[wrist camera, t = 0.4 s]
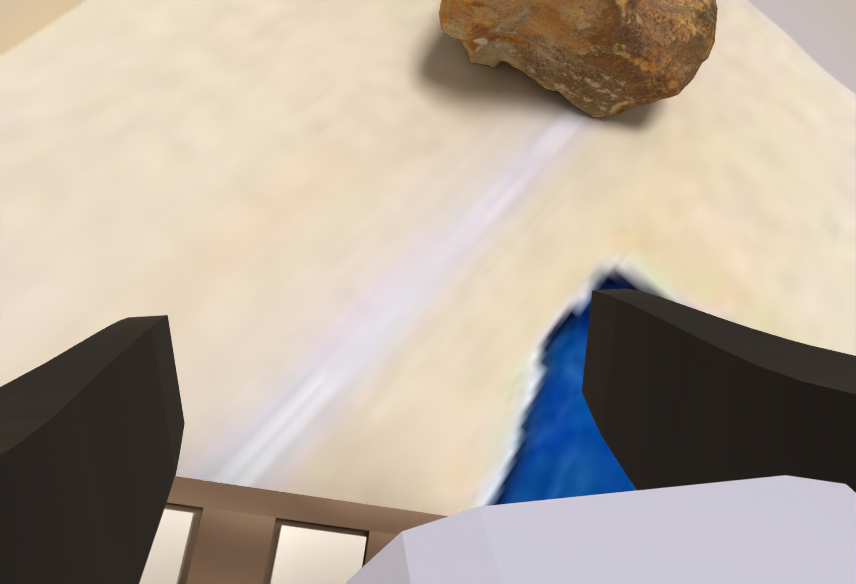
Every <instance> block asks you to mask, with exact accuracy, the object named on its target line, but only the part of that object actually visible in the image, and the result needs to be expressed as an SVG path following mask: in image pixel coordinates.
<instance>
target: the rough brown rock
mask: <svg viewBox="0 0 856 584" xmlns="http://www.w3.org/2000/svg"><path fill="white" fill-rule="evenodd" d="M439 17H440V25H441V29H442V30H443V31H445V32H446V33H447V34H448V35H449V36H450V37H451V38H456V39H458V40H461V41H462V44H463V47H464V49H465V51H466V52H467V54H468V56H469V60H470V62H474V63H478V64H486V65H489V66H491V67H495V66H496V65H498V64H499V63H500V62H502V61H506V62H508V63H509V64H510V65H512V66H513V67H515V68H517V69H519V70H521V71H523V72H525V73H526V74H527V75H528V76H529V77H530V78H532V79H533V80H535V81H536V82H537V83H539V84H540V85H541V86H542V87H543V88H546V89H549V90H551V91H559V92H560V93H561V94H562V95H563V96H564V97H565V98H566V99H567V100H569V101H570V102H571V103H572V104H573V105H574V106H576V107H577V108H579V109H581V110H582V111H584V112H586V113H587V114H589V115H591V116H592V117H606V116H613V115H615V114H618V113H620V112H623V111H625V110H627V109H629V108H631V107H633V106H637V105H642V104H646V103H650V102H654V101H657V100H661V99H665V98H670V97H672V96H675V95H678V94H679V93H680V92H681V91H682V90H683V89H684V88H685V87H686V86H687V85H688V84H689V83H690V82H691V80H692V79H693V78H694V77H695V75H696V73H697V71H698V69H699V67H700V66H701V64H702V63H703V62H704V61H705V60H706V59H707V58H708V57H709V54H710V52H711V50H712V47H713V45H714V42H715V31H716V21H717V5H716V0H442V1H441V6H440V11H439Z"/></svg>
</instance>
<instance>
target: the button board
mask: <svg viewBox="0 0 856 584" xmlns="http://www.w3.org/2000/svg"><path fill="white" fill-rule="evenodd" d="M165 509H168V510H175V511H182V512H190V513H196V514H195V519H194V523H193V527H192V531H191V536H190V540H189V544H188V548H187V553H186V557H185V561H184V565H183V570H182V574H181V578H180V582H179V584H270V578H271V573H272V568H273V563H274V558H275V552H276V547H277V542H278V537H279V532H280V527H281V525H284V526H291V527H298V528H305V529H312V530H320V531H327V532H334V533H341V534H349V535H356V536H363V537H366V544H365V551H364V557H363V564H362V567H363V566H364V565H366V564H367V563H368V562H369V561H370V560H371V559H372V558H373V557H374V556H375V555H377V554H378V553H379V552H380V551H381V550H382V549H383V548H384V547H385V546H386V545H388V544H389V543H390V542H391V541H392V540H393V539H394V538H395V537H396V536H397V535H399V534H400V533H401V532H402V531H405V530H408V529H411V528H414V527H417V526H420V525H423V524H427V523H430V522H433V521H436V520H439V519H442V518H445V517H448V516H441V515H434V514H428V513H421V512H414V511H407V510H400V509H394V508H387V507H380V506H373V505H366V504H360V503H353V502H346V501H339V500H332V499H326V498H319V497H312V496H305V495H298V494H292V493H285V492H278V491H271V490H264V489H258V488H251V487H244V486H237V485H230V484H224V483H217V482H210V481H203V480H196V479H190V478H183V477H176V476H175V478H174V481H173V484H172V487H171V491H170V494H169V497H168V500H167V503H166V506H165Z"/></svg>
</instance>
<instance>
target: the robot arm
mask: <svg viewBox="0 0 856 584" xmlns="http://www.w3.org/2000/svg"><path fill="white" fill-rule="evenodd" d="M582 393H583V395H584V398H585V400H586V403H587V405H588V407H589V410H590V412H591V414H592V417H593V419H594V421H595V423H596V425H597V427H598V429H599V431H600V433H601V435H602V437H603V439H604V440H605V442H606V444H607V445H608V447H609V448H610V450H611V451H612V453H613V454H614V456H615V458H616V459H617V461H618V462H619V464H620V465H621V467H622V468H623V470H624V471H625V473H626V474H627V476H628V477H629V479H630V480H631V482H632V483H633V485H634V486H635V488H636V489H637V491H628V492H618V493H609V494H599V495H589V496H580V497H570V498H560V499H550V500H541V501H531V502H521V503H512V504H502V505H492V506H483V507H476V508H473V509H470V510H467V511H464V512H461V513H458V514H455V515H452V516H448V517H445V518H442V519H439V520H436V521H433V522H430V523H427V524H423V525H420V526H417V527H414V528H411V529H408V530H405V531H402V532H401V533H400V534H399V535H397V536H396V537H395V538H394V539H393V540H392V541H391V542H390V543H389V544H388V545H386V546H385V547H384V548H383V549H382V550H381V551H380V552H379V553H378V554H377V555H375V556H374V557H373V558H372V559H371V560H370V561H369V562H368V563H367V564H366V565H364V566H363V567H362V568H361V569H360V570H359V571H358V572H357V573H356V574H355V575H353V576H352V577H351V578H350V579H349V580H348V581H347V584H856V356H854V355H849V354H845V353H841V352H836V351H832V350H828V349H824V348H819V347H815V346H811V345H807V344H803V343H799V342H795V341H792V340H788V339H785V338H781V337H778V336H775V335H772V334H768V333H765V332H762V331H758V330H755V329H752V328H749V327H746V326H743V325H740V324H737V323H734V322H731V321H728V320H725V319H722V318H719V317H716V316H713V315H710V314H707V313H705V312H702V311H699V310H696V309H693V308H690V307H688V306H685V305H682V304H679V303H676V302H673V301H670V300H667V299H664V298H661V297H658V296H655V295H651V294H648V293H644V292H640V291H636V290H630V289H613V290H595V291H592V299H591V309H590V318H589V328H588V338H587V347H586V357H585V366H584V376H583V386H582ZM183 429H184V418H183V411H182V405H181V398H180V392H179V386H178V379H177V373H176V366H175V360H174V353H173V347H172V341H171V334H170V328H169V321H168V315H164V316H147V317H129V318H126V319H123V320H120V321H118V322H116V323H114V324H112V325H110V326H108V327H106V328H105V329H103V330H101V331H99V332H97V333H96V334H94V335H92V336H91V337H89V338H87V339H85V340H84V341H82V342H80V343H79V344H77V345H75V346H74V347H72V348H70V349H68V350H67V351H65V352H63V353H62V354H60V355H58V356H57V357H55V358H53V359H51V360H50V361H48V362H46V363H45V364H43V365H41V366H39V367H37V368H35V369H33V370H32V371H30V372H28V373H26V374H24V375H22V376H20V377H18V378H17V379H15V380H13V381H11V382H9V383H7V384H5V385H3V386H2V387H0V584H139V583H140V580H141V577H142V574H143V571H144V568H145V565H146V562H147V559H148V556H149V553H150V550H151V547H152V544H153V541H154V538H155V535H156V533H157V530H158V527H159V524H160V521H161V518H162V515H163V512H164V509H165V506H166V503H167V500H168V497H169V494H170V491H171V487H172V484H173V481H174V478H175V475H176V470H177V465H178V459H179V454H180V448H181V442H182V435H183Z"/></svg>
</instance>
